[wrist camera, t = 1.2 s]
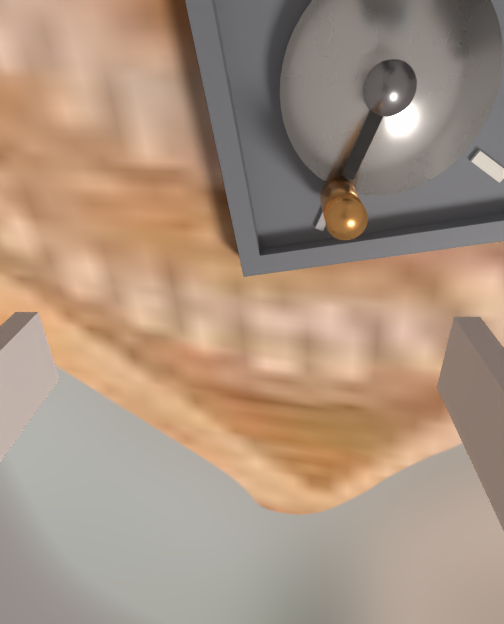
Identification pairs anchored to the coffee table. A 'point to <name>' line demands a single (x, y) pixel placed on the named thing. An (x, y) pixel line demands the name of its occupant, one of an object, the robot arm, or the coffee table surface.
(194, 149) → the coffee table surface
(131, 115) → the coffee table surface
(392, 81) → the dial
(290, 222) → the panel
